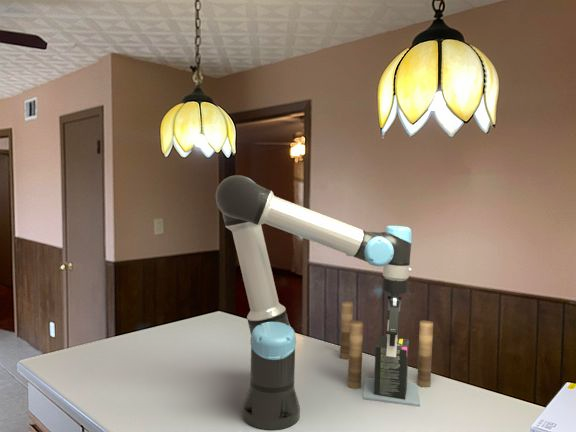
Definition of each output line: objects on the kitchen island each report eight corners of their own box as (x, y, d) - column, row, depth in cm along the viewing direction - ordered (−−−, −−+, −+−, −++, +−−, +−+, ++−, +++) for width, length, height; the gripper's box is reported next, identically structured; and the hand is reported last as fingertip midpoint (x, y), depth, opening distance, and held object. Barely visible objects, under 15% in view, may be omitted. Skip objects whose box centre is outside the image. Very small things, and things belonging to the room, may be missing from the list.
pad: (420, 406, 125) (420, 404, 125) (362, 399, 128) (362, 397, 128) (417, 385, 138) (417, 383, 138) (365, 379, 142) (365, 377, 142)
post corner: (360, 389, 134) (362, 324, 133) (347, 388, 135) (349, 323, 134) (361, 384, 138) (363, 321, 137) (348, 382, 139) (350, 320, 138)
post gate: (350, 360, 158) (352, 304, 157) (339, 358, 159) (341, 303, 157) (351, 356, 162) (353, 302, 160) (340, 354, 162) (342, 301, 161)
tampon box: (405, 400, 127) (407, 350, 126) (373, 395, 130) (375, 346, 129) (407, 384, 137) (409, 338, 136) (377, 380, 140) (378, 334, 139)
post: (430, 388, 136) (433, 324, 135) (417, 386, 137) (420, 323, 136) (429, 383, 140) (432, 321, 139) (416, 381, 141) (419, 319, 140)
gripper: (410, 287, 118) (405, 365, 119) (407, 272, 142) (402, 336, 144) (382, 285, 120) (377, 361, 121) (383, 270, 144) (379, 334, 145)
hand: (391, 348), depth 132 cm, fingers open, 13 cm apart
